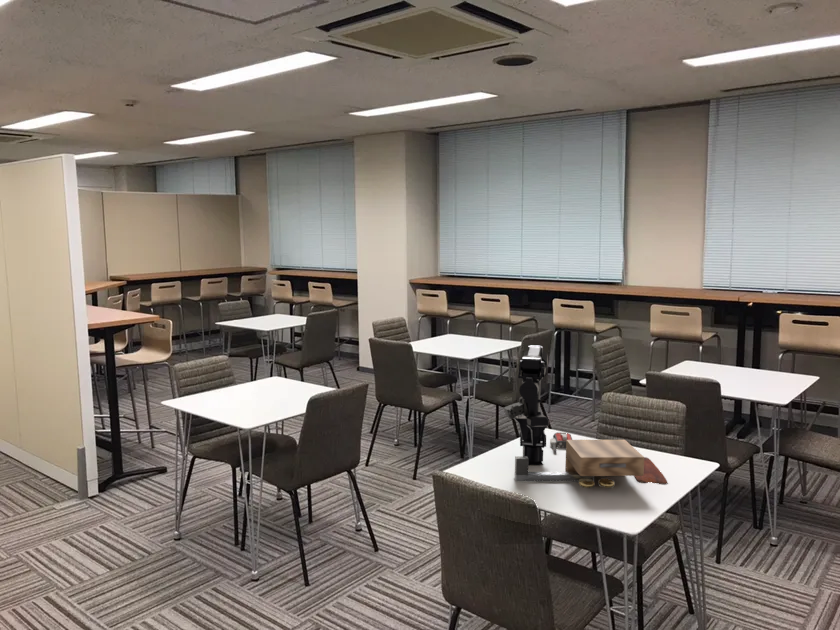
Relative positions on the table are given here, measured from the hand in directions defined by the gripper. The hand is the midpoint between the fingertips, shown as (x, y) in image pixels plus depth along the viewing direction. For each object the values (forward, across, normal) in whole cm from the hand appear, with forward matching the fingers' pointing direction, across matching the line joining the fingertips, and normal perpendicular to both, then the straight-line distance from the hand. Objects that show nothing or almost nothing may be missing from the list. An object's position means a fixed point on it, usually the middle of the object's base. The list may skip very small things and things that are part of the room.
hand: (528, 442), depth 215 cm
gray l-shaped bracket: (+13, -1, +10) cm, 16 cm away
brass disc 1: (+13, +6, +18) cm, 23 cm away
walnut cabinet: (+13, +6, +24) cm, 27 cm away
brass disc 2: (+13, +7, +24) cm, 29 cm away
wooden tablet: (+12, -4, +45) cm, 46 cm away
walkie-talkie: (+10, -33, +27) cm, 44 cm away
